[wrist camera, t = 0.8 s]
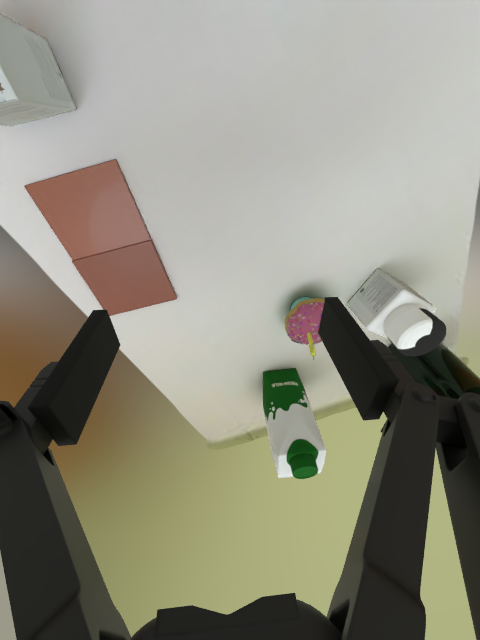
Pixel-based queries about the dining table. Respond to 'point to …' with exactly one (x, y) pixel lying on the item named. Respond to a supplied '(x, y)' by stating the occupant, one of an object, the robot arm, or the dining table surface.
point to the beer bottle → (440, 372)
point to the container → (398, 314)
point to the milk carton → (291, 426)
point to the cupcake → (305, 321)
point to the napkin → (104, 236)
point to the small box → (29, 77)
